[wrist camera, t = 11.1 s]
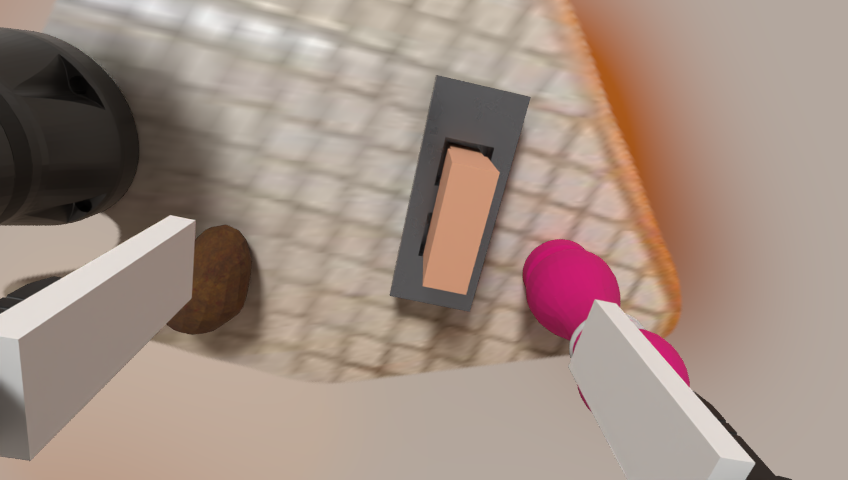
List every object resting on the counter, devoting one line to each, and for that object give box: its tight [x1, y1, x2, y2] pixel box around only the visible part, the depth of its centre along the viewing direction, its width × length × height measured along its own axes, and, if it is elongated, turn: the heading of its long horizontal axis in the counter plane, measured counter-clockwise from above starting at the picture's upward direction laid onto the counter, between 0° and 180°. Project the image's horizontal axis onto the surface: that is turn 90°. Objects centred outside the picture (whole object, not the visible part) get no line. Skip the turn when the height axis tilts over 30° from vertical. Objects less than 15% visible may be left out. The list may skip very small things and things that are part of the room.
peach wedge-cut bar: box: [423, 142, 500, 295], centre depth 34 cm, size 3×8×10 cm, turn 168°
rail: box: [390, 75, 530, 312], centre depth 37 cm, size 7×18×4 cm, turn 168°
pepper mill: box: [523, 239, 690, 414], centre depth 32 cm, size 7×7×20 cm
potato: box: [167, 225, 252, 334], centre depth 38 cm, size 7×10×7 cm
